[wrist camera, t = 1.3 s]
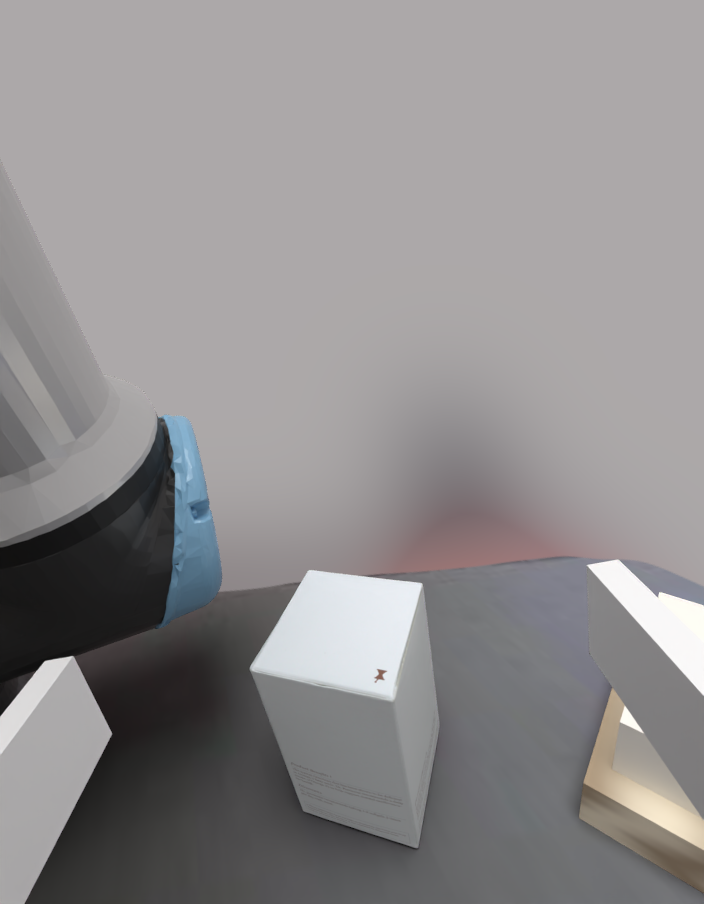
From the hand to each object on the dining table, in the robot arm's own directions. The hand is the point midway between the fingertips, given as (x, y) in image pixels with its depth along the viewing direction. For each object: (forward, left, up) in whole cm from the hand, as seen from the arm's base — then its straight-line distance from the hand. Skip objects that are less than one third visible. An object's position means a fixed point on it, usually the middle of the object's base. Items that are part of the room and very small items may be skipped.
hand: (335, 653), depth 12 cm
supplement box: (-6, +6, -21) cm, 23 cm away
